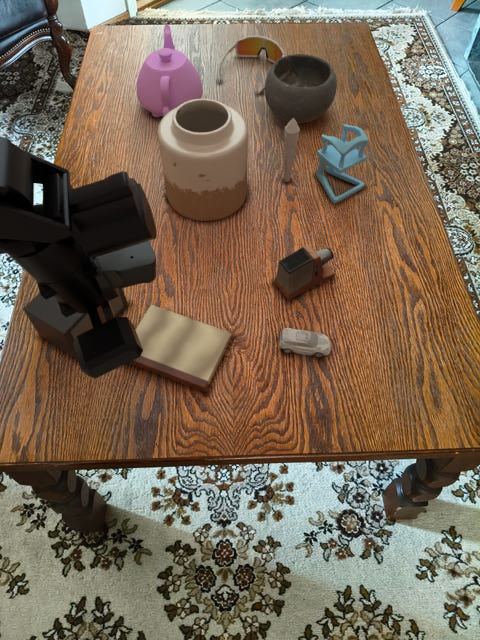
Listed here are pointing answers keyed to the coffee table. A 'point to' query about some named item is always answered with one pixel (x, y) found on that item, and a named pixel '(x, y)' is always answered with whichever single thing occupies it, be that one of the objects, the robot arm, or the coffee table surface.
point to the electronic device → (303, 271)
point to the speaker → (64, 320)
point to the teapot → (167, 79)
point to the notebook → (180, 347)
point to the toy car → (304, 342)
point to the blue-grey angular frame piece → (341, 160)
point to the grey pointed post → (290, 147)
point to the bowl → (300, 87)
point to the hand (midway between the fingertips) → (119, 325)
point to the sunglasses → (256, 49)
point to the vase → (204, 159)
